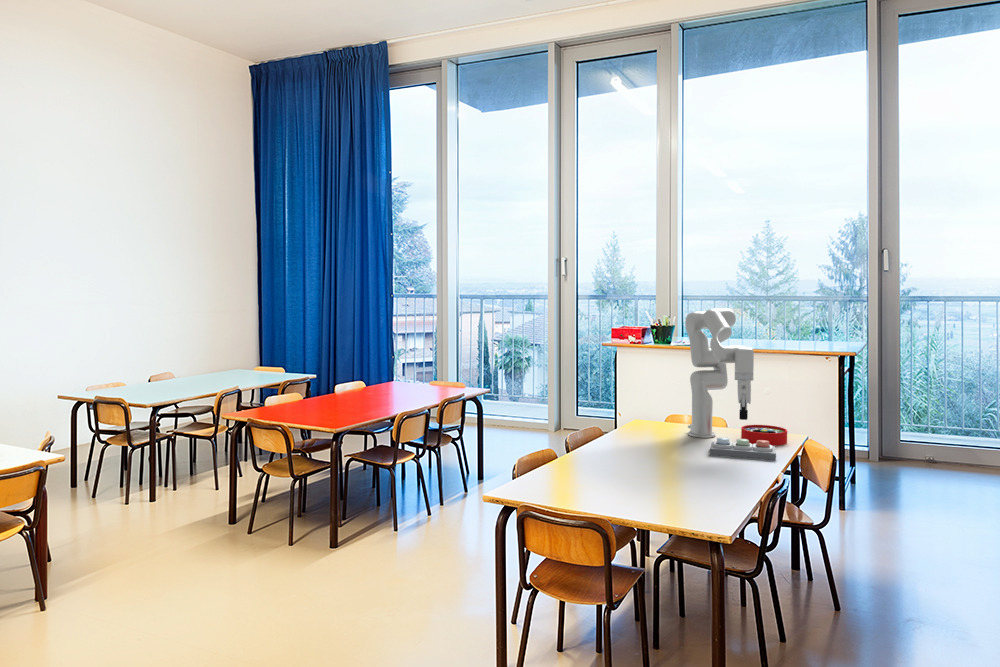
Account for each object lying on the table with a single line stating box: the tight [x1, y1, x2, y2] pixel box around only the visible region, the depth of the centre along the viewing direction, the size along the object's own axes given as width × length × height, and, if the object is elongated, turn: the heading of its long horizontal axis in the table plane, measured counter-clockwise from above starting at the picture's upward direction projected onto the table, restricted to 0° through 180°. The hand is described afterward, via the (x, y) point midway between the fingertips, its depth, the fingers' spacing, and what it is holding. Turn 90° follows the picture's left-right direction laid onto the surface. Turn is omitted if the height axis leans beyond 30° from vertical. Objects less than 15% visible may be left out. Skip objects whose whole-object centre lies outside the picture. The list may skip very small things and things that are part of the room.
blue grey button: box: [716, 437, 730, 445], centre depth 293 cm, size 5×5×2 cm
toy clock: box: [740, 424, 788, 447], centre depth 316 cm, size 20×6×20 cm
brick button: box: [756, 440, 769, 447], centre depth 287 cm, size 5×5×2 cm
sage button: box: [736, 438, 749, 446], centre depth 290 cm, size 5×5×2 cm
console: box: [709, 440, 777, 462], centre depth 290 cm, size 26×14×4 cm, turn 69°
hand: (743, 419), depth 289 cm, fingers closed
